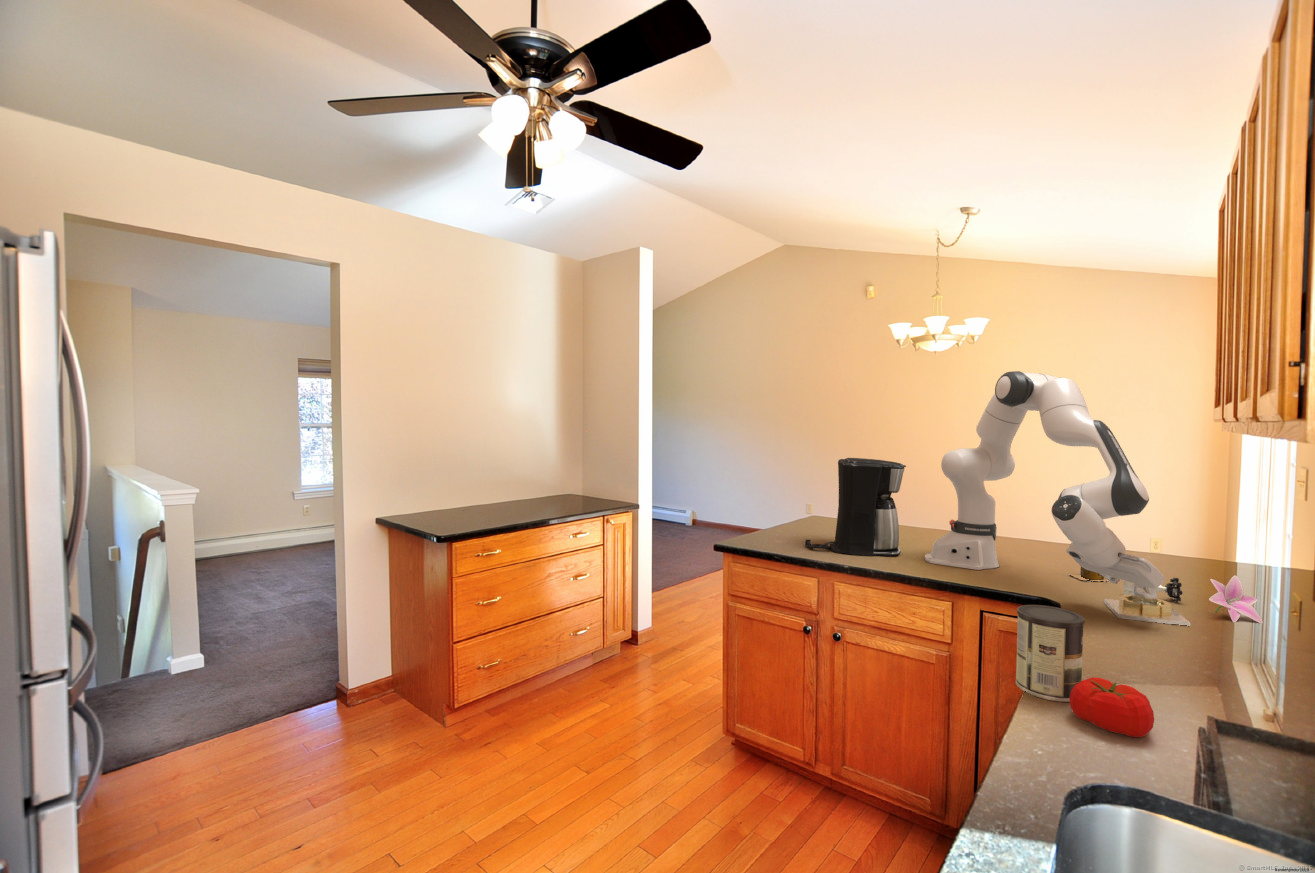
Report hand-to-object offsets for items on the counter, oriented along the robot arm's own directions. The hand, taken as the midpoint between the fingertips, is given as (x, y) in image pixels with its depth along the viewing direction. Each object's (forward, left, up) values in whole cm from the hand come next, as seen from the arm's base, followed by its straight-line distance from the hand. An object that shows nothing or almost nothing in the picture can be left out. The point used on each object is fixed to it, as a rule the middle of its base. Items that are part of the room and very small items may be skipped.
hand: (1133, 586), depth 153 cm
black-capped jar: (+3, +2, -6) cm, 7 cm away
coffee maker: (-72, +47, -7) cm, 87 cm away
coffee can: (-27, -59, -7) cm, 65 cm away
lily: (+22, +8, -7) cm, 25 cm away
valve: (+9, +19, -7) cm, 22 cm away
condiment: (-2, +36, -7) cm, 37 cm away
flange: (+3, +2, -7) cm, 8 cm away
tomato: (-20, -70, -7) cm, 73 cm away
